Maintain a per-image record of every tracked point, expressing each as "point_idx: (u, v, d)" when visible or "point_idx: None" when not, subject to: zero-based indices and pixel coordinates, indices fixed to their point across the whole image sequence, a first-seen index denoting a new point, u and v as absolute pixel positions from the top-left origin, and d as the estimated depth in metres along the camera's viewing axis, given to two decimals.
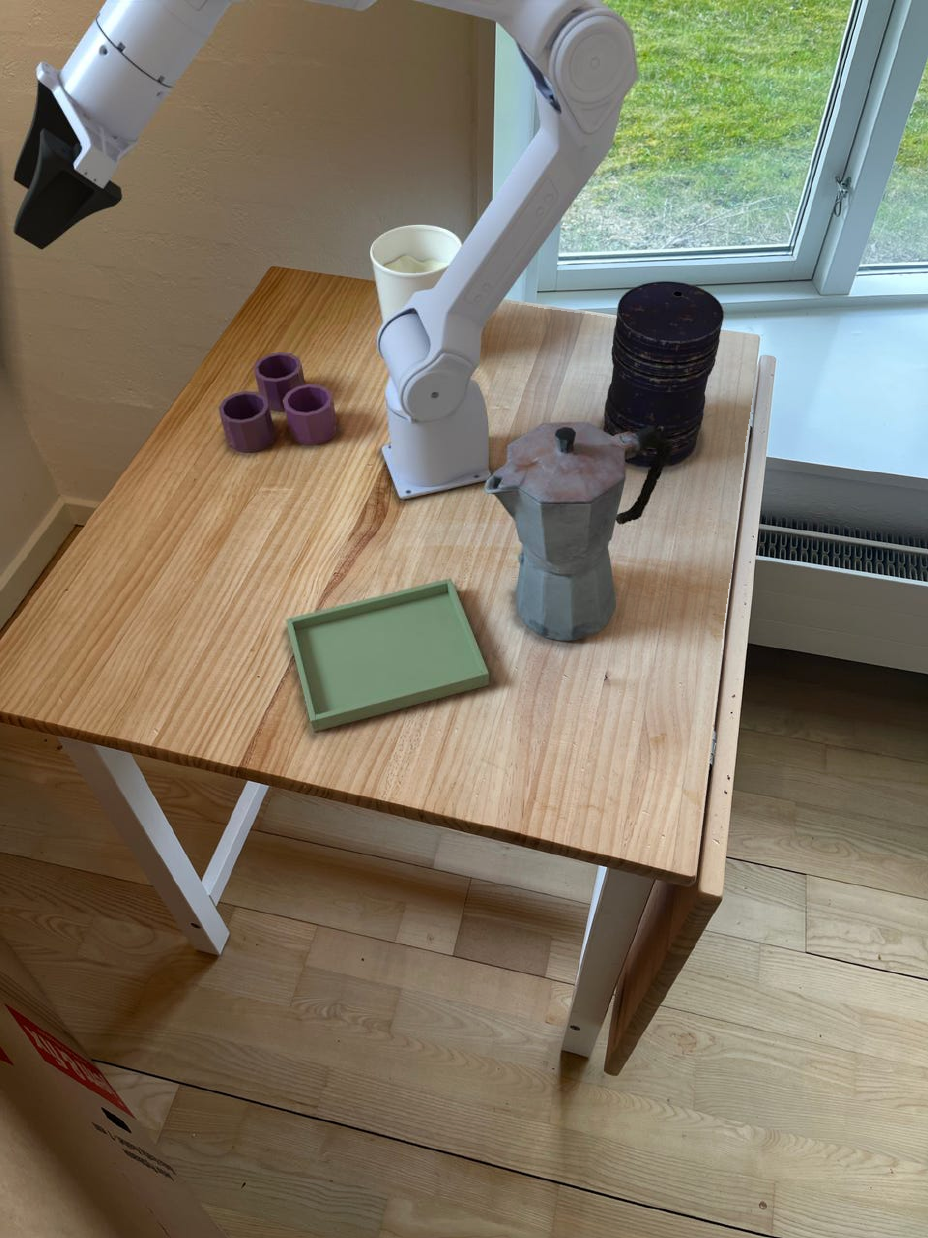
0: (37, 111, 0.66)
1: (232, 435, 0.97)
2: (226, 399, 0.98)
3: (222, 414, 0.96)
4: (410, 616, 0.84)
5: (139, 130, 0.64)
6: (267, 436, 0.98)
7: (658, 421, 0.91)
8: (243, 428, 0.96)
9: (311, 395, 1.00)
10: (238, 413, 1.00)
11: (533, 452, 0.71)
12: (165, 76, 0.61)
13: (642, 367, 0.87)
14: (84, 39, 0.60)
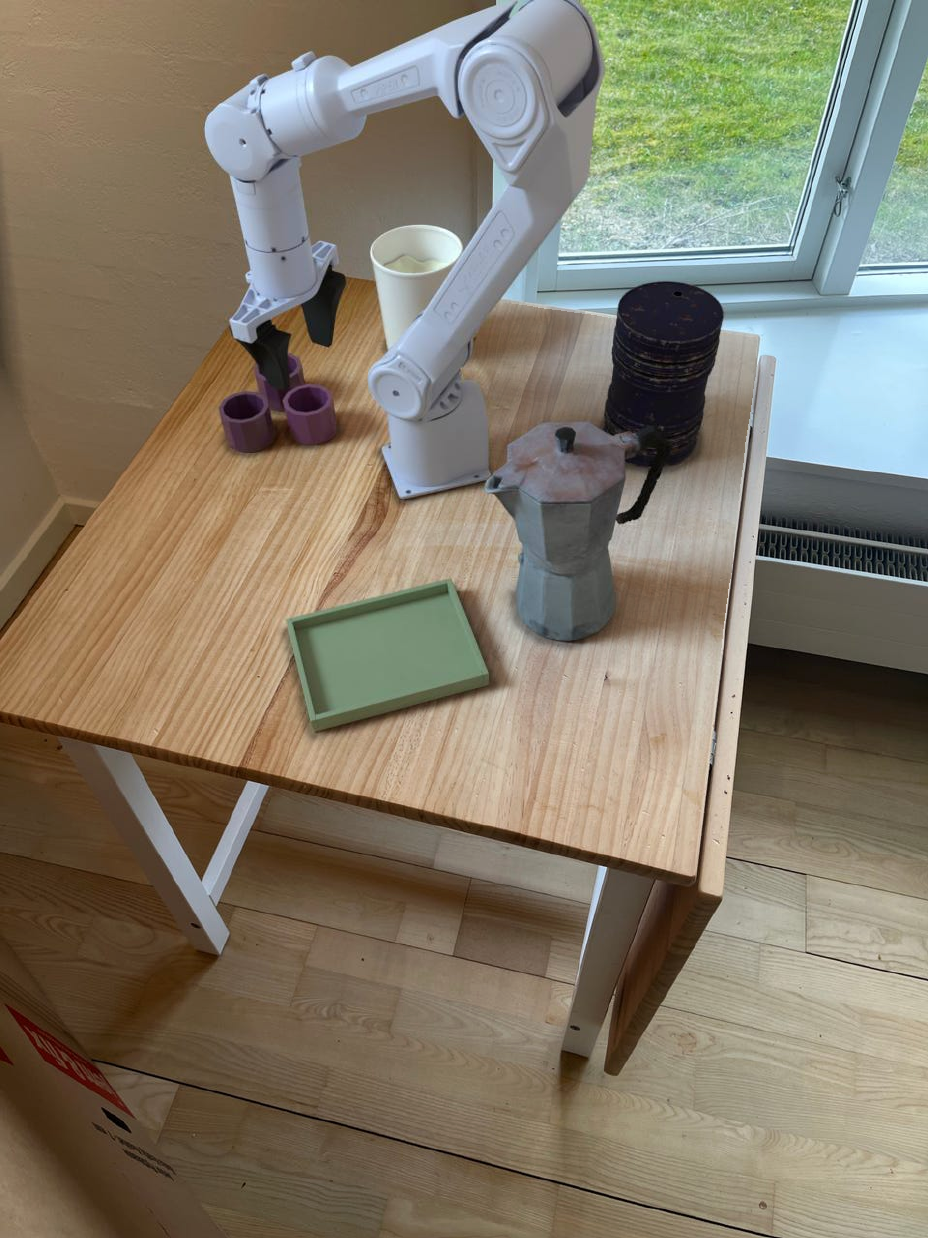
0: None
1: (232, 435, 0.97)
2: (226, 399, 0.98)
3: (222, 414, 0.96)
4: (410, 616, 0.84)
5: (294, 287, 0.85)
6: (267, 436, 0.98)
7: (658, 421, 0.91)
8: (243, 428, 0.96)
9: (311, 395, 1.00)
10: (238, 413, 1.00)
11: (533, 452, 0.71)
12: (275, 246, 0.81)
13: (642, 367, 0.87)
14: None
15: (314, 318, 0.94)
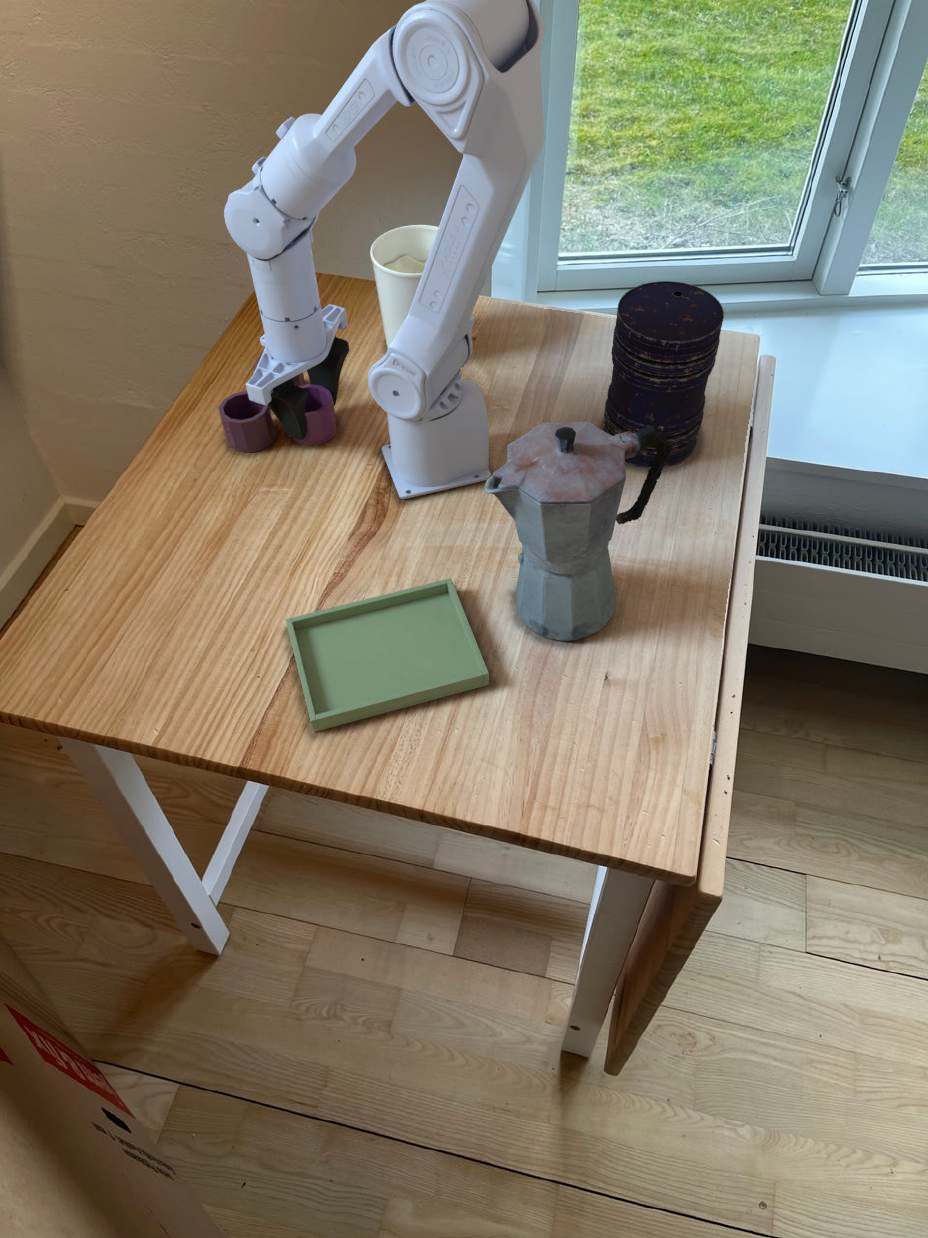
0: None
1: (232, 435, 0.97)
2: (226, 399, 0.98)
3: (222, 414, 0.96)
4: (410, 616, 0.84)
5: (306, 352, 0.90)
6: (267, 436, 0.98)
7: (658, 421, 0.91)
8: (243, 428, 0.96)
9: (311, 396, 1.00)
10: (238, 413, 1.00)
11: (533, 452, 0.71)
12: (288, 316, 0.87)
13: (642, 367, 0.87)
14: None
15: (319, 381, 0.99)
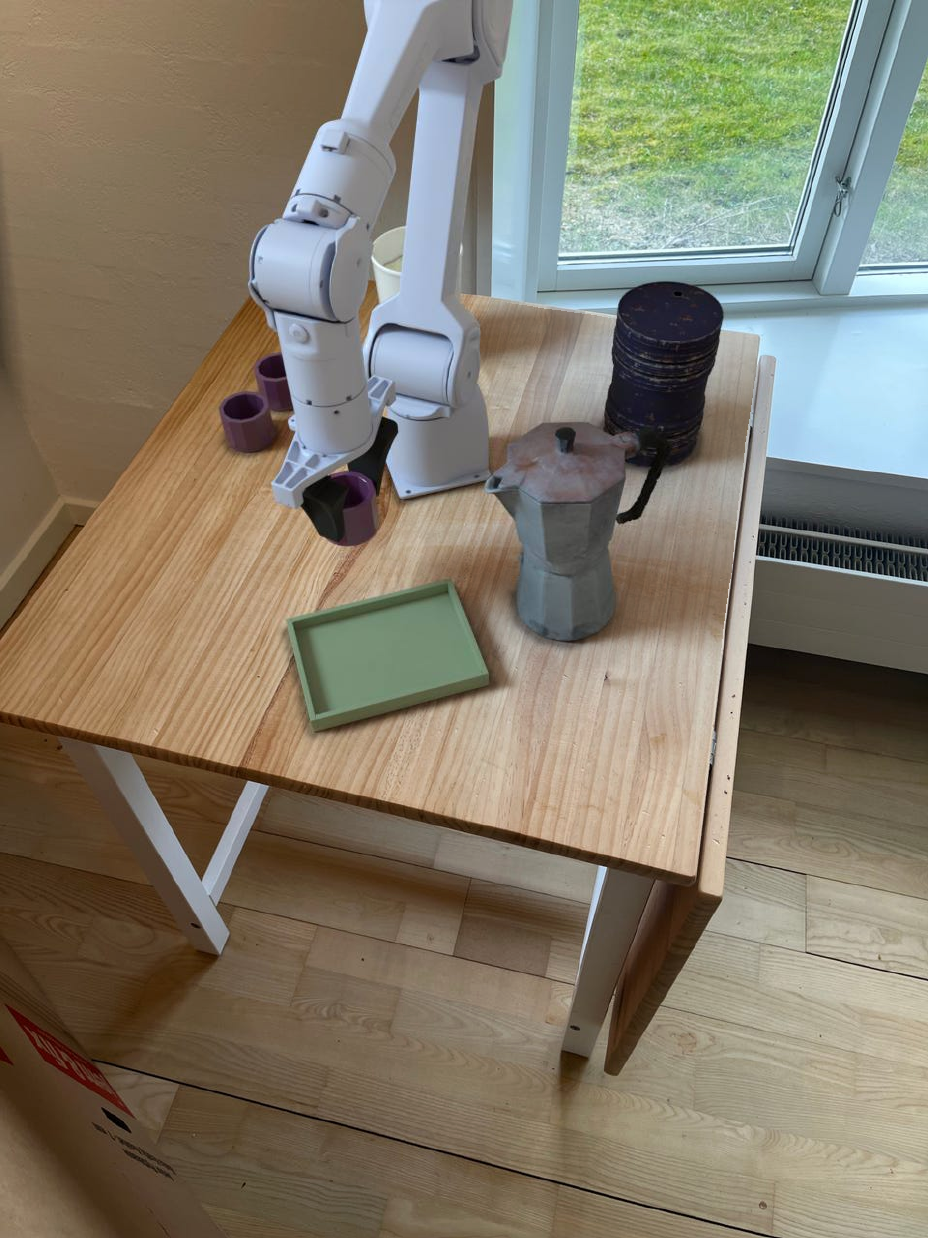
0: None
1: (232, 435, 0.97)
2: (226, 399, 0.98)
3: (222, 414, 0.96)
4: (410, 616, 0.84)
5: (348, 442, 0.71)
6: (267, 436, 0.98)
7: (658, 421, 0.91)
8: (243, 428, 0.96)
9: (348, 485, 0.81)
10: (238, 413, 1.00)
11: (533, 452, 0.71)
12: None
13: (642, 367, 0.87)
14: None
15: (359, 468, 0.80)
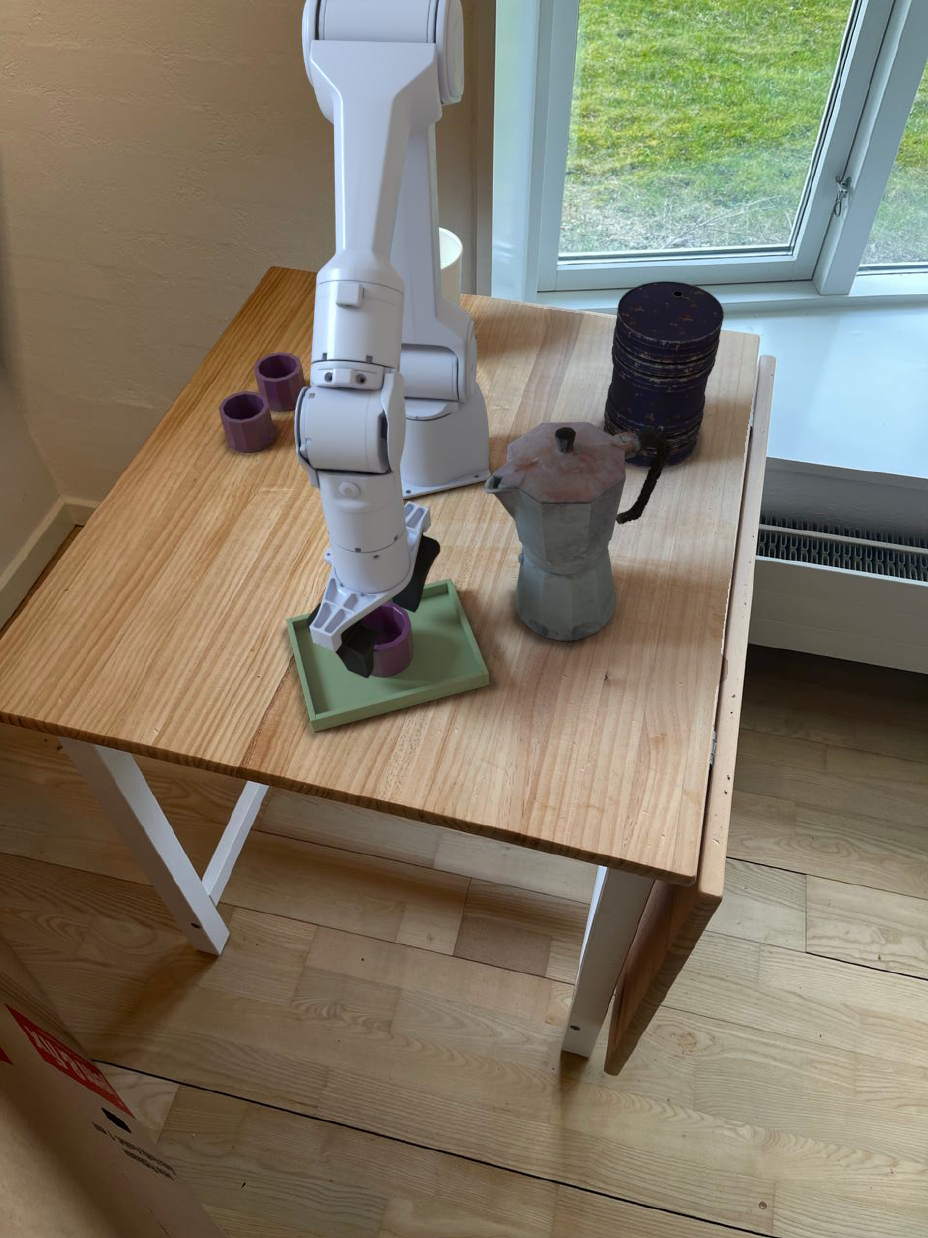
0: None
1: (232, 435, 0.97)
2: (226, 399, 0.98)
3: (222, 414, 0.96)
4: (410, 616, 0.84)
5: (387, 582, 0.70)
6: (267, 436, 0.98)
7: (658, 421, 0.91)
8: (243, 428, 0.96)
9: (382, 614, 0.80)
10: (238, 413, 1.00)
11: (533, 452, 0.71)
12: None
13: (642, 367, 0.87)
14: None
15: None
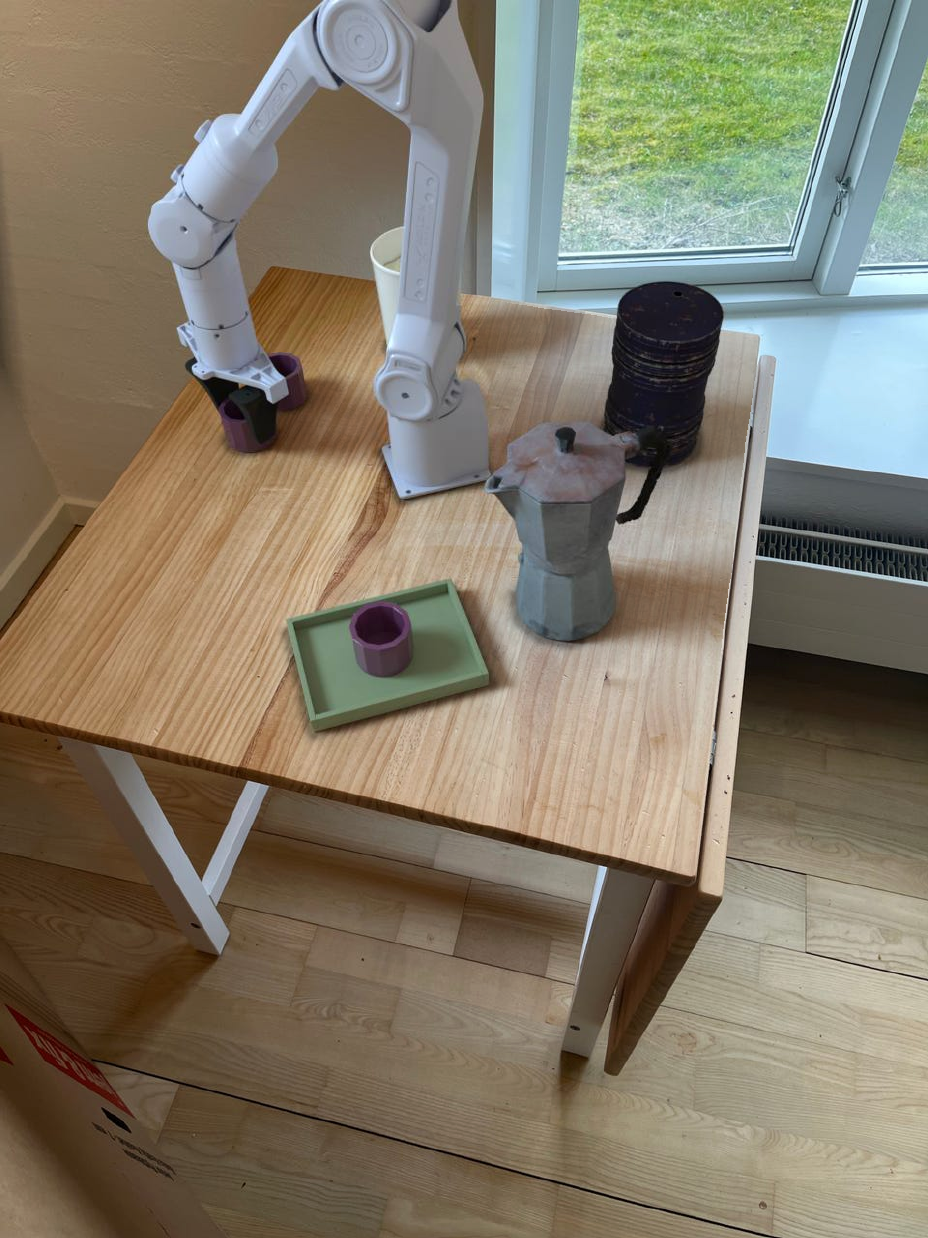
0: (206, 384, 0.95)
1: (232, 435, 0.97)
2: (226, 399, 0.98)
3: (222, 414, 0.96)
4: (410, 616, 0.84)
5: None
6: None
7: (658, 421, 0.91)
8: (243, 428, 0.96)
9: (382, 614, 0.80)
10: (238, 413, 1.00)
11: (533, 452, 0.71)
12: (222, 323, 0.86)
13: (642, 367, 0.87)
14: (199, 339, 0.88)
15: (224, 394, 0.98)
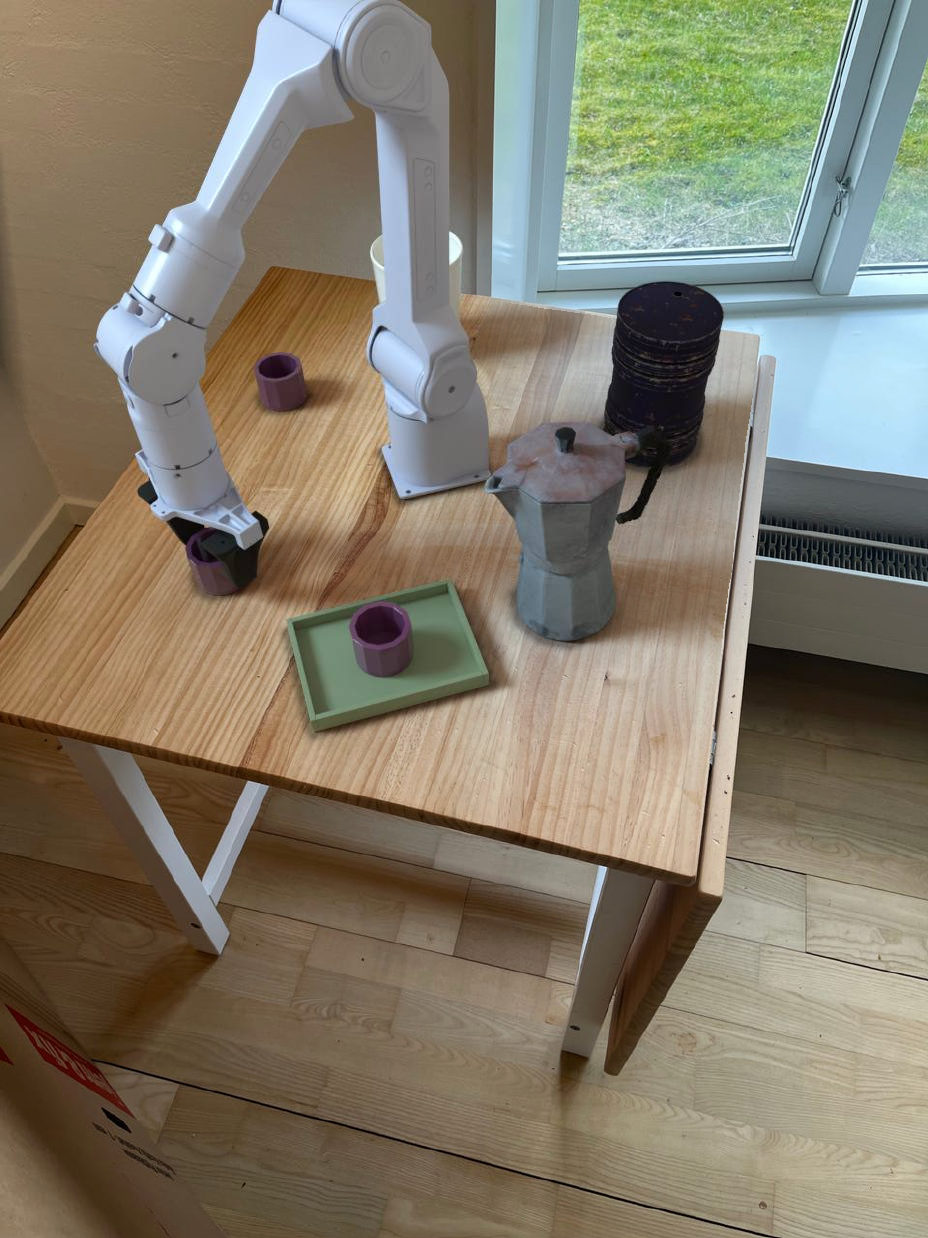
0: None
1: (201, 578, 0.85)
2: (194, 536, 0.86)
3: (189, 555, 0.84)
4: (410, 616, 0.84)
5: (226, 472, 0.79)
6: None
7: (658, 421, 0.91)
8: (213, 572, 0.84)
9: (382, 614, 0.80)
10: None
11: (533, 452, 0.71)
12: (210, 447, 0.75)
13: (642, 367, 0.87)
14: (158, 478, 0.76)
15: (184, 520, 0.86)
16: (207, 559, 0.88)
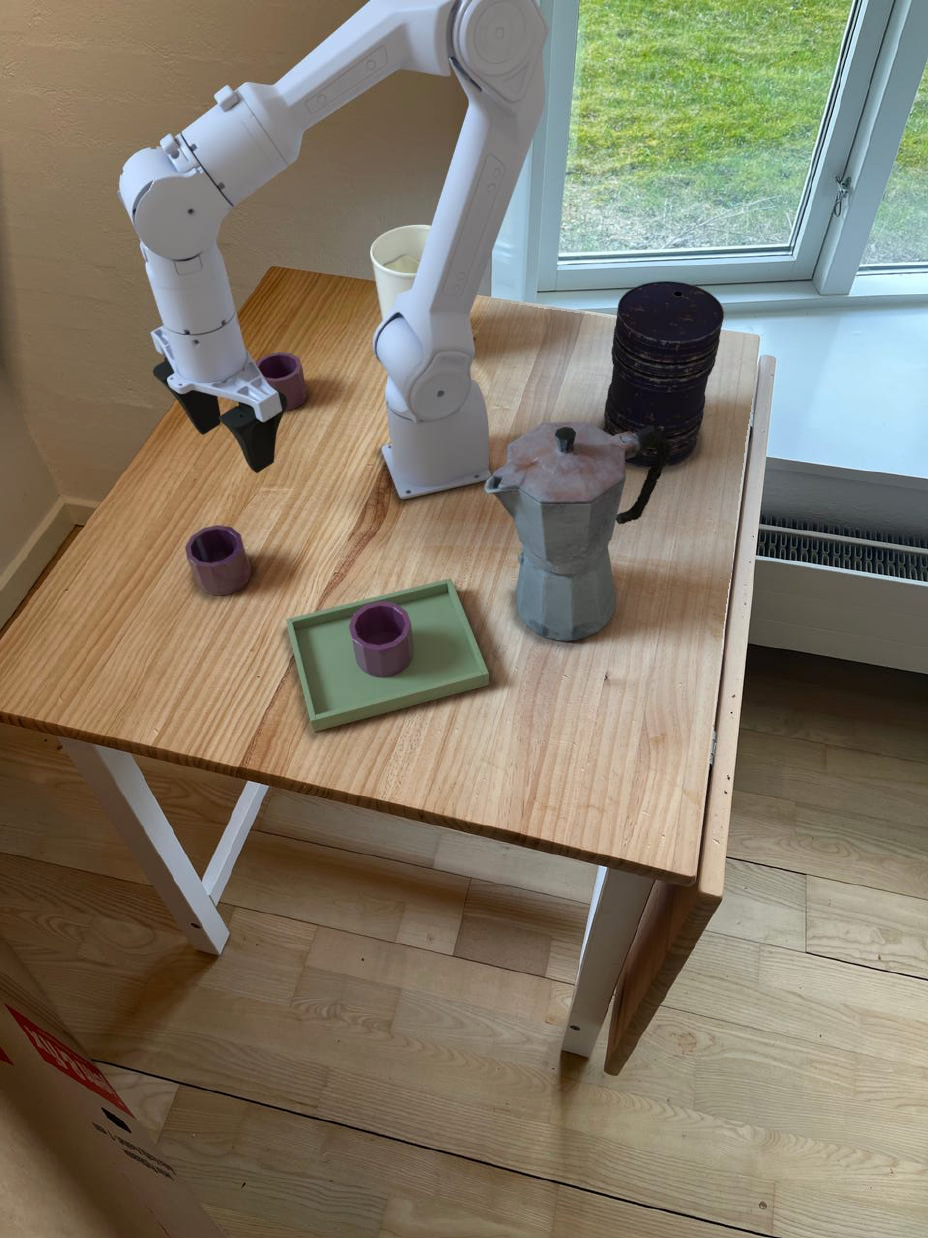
0: (177, 393, 0.82)
1: (201, 578, 0.85)
2: (194, 536, 0.86)
3: (189, 555, 0.84)
4: (410, 616, 0.84)
5: (244, 346, 0.77)
6: (241, 577, 0.86)
7: (658, 421, 0.91)
8: (213, 572, 0.84)
9: (382, 614, 0.80)
10: (208, 549, 0.88)
11: (533, 452, 0.71)
12: (224, 318, 0.73)
13: (642, 367, 0.87)
14: (176, 346, 0.74)
15: (200, 405, 0.84)
16: (207, 559, 0.88)
